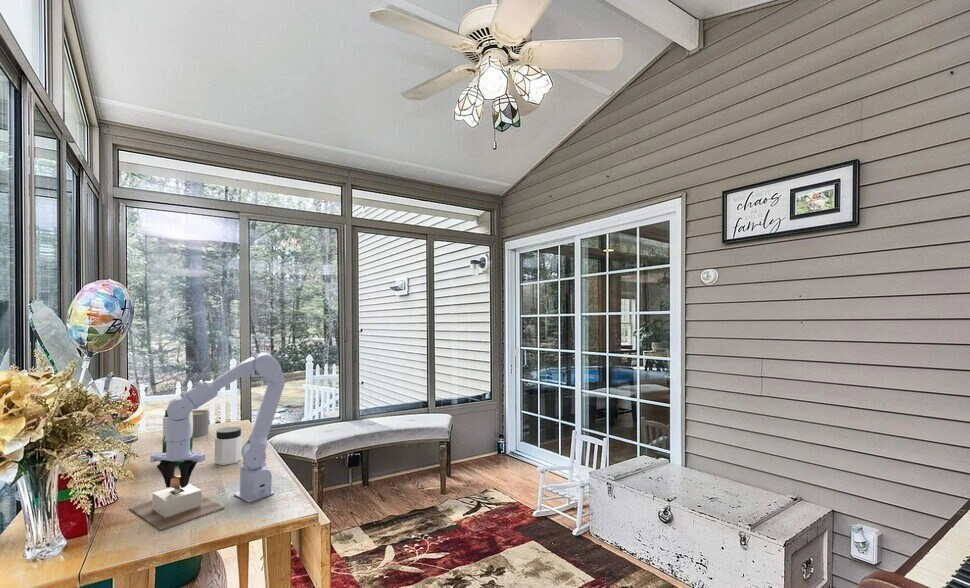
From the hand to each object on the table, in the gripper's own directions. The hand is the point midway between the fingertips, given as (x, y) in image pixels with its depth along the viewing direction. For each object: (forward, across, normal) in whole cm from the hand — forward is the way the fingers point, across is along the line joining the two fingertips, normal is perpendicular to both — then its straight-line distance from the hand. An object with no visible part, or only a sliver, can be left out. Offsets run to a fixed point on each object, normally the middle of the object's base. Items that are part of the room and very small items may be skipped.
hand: (177, 486), depth 130 cm
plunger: (+4, 0, 0) cm, 4 cm away
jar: (+7, +6, -39) cm, 40 cm away
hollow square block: (+6, 0, 0) cm, 6 cm away
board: (+6, 0, 0) cm, 6 cm away
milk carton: (+7, +24, -37) cm, 45 cm away
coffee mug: (+7, +41, -73) cm, 84 cm away
